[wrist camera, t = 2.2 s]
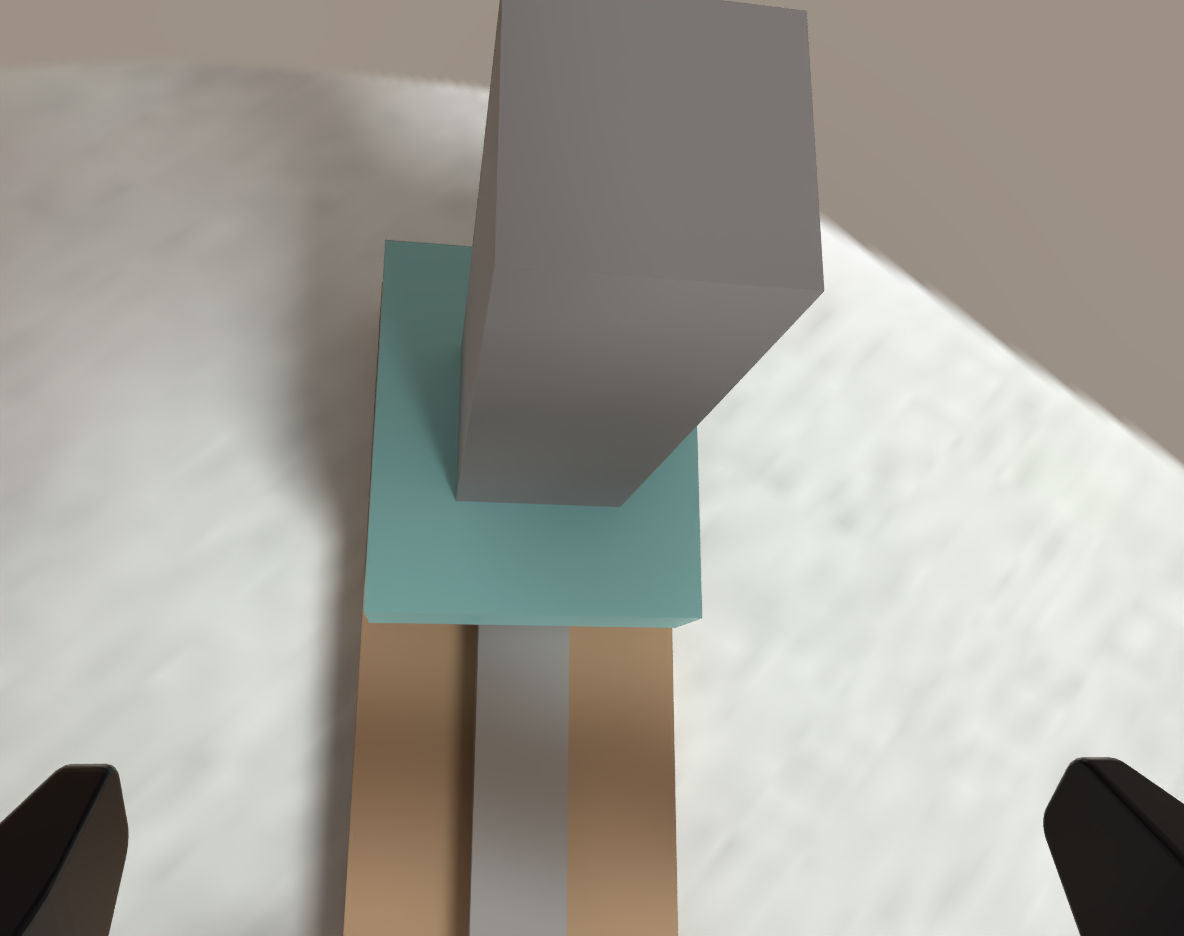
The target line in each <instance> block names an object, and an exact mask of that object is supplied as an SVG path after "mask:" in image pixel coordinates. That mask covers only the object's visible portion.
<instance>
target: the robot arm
mask: <svg viewBox="0 0 1184 936" xmlns="http://www.w3.org/2000/svg"><path fill="white" fill-rule="evenodd" d="M1043 827H1044V833H1045V837H1046V841H1047V843H1048V846H1049V849H1050V852H1051V855H1052V857H1053V860H1054V863H1055V866H1056V869H1057V871H1058V874H1059V877H1060V880H1061V883H1062V886H1063V888H1064V891H1065V894H1066V897H1067V900H1068V902H1069V905H1070V908H1071V911H1072V914H1073V916H1074V919H1075V922H1076V925H1077V928H1078V930H1079V933H1080V936H1184V804H1183V803H1182V802H1180V801H1179V800H1177V799H1176V798H1174V797H1173V796H1172V795H1170V794H1169V793H1167V792H1166V791H1164V790H1163V789H1162V788H1160V787H1159V786H1157V785H1156V784H1154V783H1153V782H1151V781H1150V780H1149V779H1147V778H1146V777H1144V776H1143V775H1141V774H1140V773H1138V772H1137V771H1136V770H1134V769H1133V768H1131V767H1130V766H1128V765H1127V764H1125V763H1124V762H1122V761H1120V760H1118V759H1115V758H1111V757H1081V758H1077V759H1075V760H1074V761H1072V762H1071V763H1070V764H1069V766H1068V767H1067V769H1066V771H1065V773H1064V775H1063V776H1062V778H1061V780H1060V782H1059V784H1058V786H1057V788H1056V790H1055V792H1054V794H1053V796H1052V798H1051V800H1050V801H1049V803H1048V805H1047V807H1046V810H1045V812H1044V818H1043ZM128 837H129V836H128V823H127V817H126V812H125V806H124V800H123V795H122V789H121V783H120V778H119V774H118V772H117V770H116V768H115V767H114V766H112V765H108V764H69V765H65V766H63V767H61V768H59V769H58V770H56V771H55V772H54V773H53V774H52V775H51V776H50V777H49V778H48V779H46V780H45V781H44V782H43V783H42V784H41V785H40V786H39V787H38V788H37V789H36V790H35V791H34V792H33V793H32V794H30V795H29V796H28V797H27V798H26V799H25V800H24V801H23V802H22V803H21V804H20V805H19V806H18V807H17V808H16V809H14V810H13V811H12V812H11V813H10V814H9V815H8V816H7V817H6V818H5V819H4V820H3V821H2V822H1V823H0V936H108V935H109V931H110V927H111V922H112V918H113V913H114V909H115V904H116V900H117V895H118V891H119V886H120V882H121V877H122V873H123V869H124V864H125V860H126V855H127V848H128Z"/></svg>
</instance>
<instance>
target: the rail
mask: <svg viewBox="0 0 1184 936" xmlns="http://www.w3.org/2000/svg"><path fill="white" fill-rule="evenodd" d="M382 290H383V282H382ZM381 306H382V292H381ZM380 323H381V308H380ZM379 340H380V325H379ZM378 357H379V342H378ZM377 374H378V359H377ZM376 391H377V376H376ZM375 408H376V393H375ZM374 425H375V409H374ZM373 442H374V426H373ZM372 458H373V443H372ZM371 475H372V460H371ZM370 492H371V477H370ZM369 509H370V493H369ZM368 526H369V510H368ZM367 543H368V527H367ZM366 560H367V544H366ZM365 577H366V561H365ZM364 594H365V578H364ZM364 594H363V610H364ZM343 936H678V912H677V859H676V807H675V755H674V702H673V650H672V628H648V627H589V626H530V625H471V624H412V623H369V621H368V620H367V618H366V616H365V614H364V612H363V611H362V628H361V645H360V662H359V678H358V695H357V712H356V729H355V746H354V763H353V779H352V796H351V813H350V830H349V847H348V863H347V880H346V897H345V914H344V931H343Z"/></svg>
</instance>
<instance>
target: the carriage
mask: <svg viewBox="0 0 1184 936" xmlns="http://www.w3.org/2000/svg"><path fill="white" fill-rule="evenodd" d="M823 292H824V280H823V264H822V248H821V232H820V216H819V200H818V184H817V168H816V152H815V137H814V121H813V105H812V89H811V73H810V57H809V42H808V26H807V12H806V11H803V10H796V9H788V8H780V7H772V6H764V5H756V4H748V3H740V2H732V1H724V0H500V4H499V13H498V22H497V31H496V40H495V49H494V58H493V67H492V76H491V85H490V94H489V103H488V112H487V121H486V130H485V139H484V148H483V156H482V165H481V174H480V183H479V192H478V201H477V210H476V219H475V228H474V237H473V246H472V247H467V246H455V245H442V244H430V243H417V242H404V241H392V240H385V256H384V273H383V290H382V306H381V323H380V340H379V357H378V374H377V391H376V408H375V425H374V442H373V458H372V475H371V492H370V509H369V526H368V543H367V560H366V577H365V594H364V610H363V612H364V614H365V616H366V618H367V620H368V621H369V623H412V624H471V625H530V626H589V627H648V628H676V627H679V626H682V625H684V624H687V623H690V622H693V621H695V620H698V619H701V618H702V595H701V558H700V520H699V483H698V445H697V425H698V424H699V423H700V422H701V421H702V420H703V419H704V418H705V417H706V416H707V415H708V414H709V413H710V412H711V411H712V409H713V408H714V407H715V406H716V405H717V404H718V403H719V402H720V401H721V400H722V399H723V398H724V397H725V396H726V395H727V394H728V393H729V391H730V390H731V389H732V388H733V387H734V386H735V385H736V384H737V383H738V382H739V381H740V380H741V379H742V378H743V377H744V376H745V374H746V373H747V372H748V371H749V370H750V369H751V368H752V367H753V366H754V365H755V364H756V363H757V362H758V361H759V360H760V359H761V358H762V356H763V355H764V354H765V353H766V352H767V351H768V350H769V349H770V348H771V347H772V346H773V345H774V344H775V343H776V342H777V341H778V340H779V338H780V337H781V336H782V335H783V334H784V333H785V332H786V331H787V330H788V329H789V328H790V327H791V326H792V325H793V324H794V323H795V322H796V320H797V319H798V318H799V317H800V316H801V315H802V314H803V313H804V312H805V311H806V310H807V309H808V308H809V307H810V306H811V305H812V303H813V302H814V301H815V300H816V299H817V298H818V297H819V296H820V295H821V294H822V293H823Z"/></svg>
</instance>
